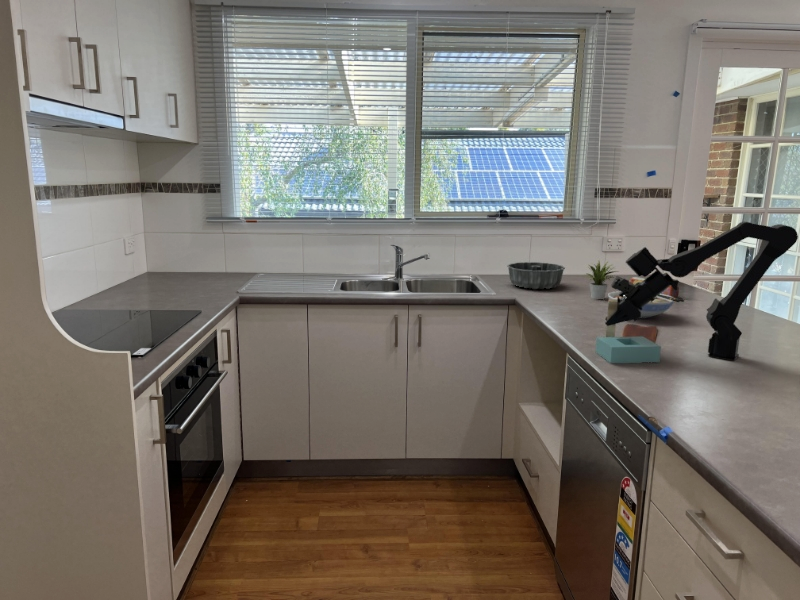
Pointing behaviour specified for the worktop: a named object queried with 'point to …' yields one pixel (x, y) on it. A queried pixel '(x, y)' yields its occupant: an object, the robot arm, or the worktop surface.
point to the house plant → (599, 281)
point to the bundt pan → (535, 274)
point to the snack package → (668, 291)
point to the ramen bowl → (652, 304)
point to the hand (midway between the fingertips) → (606, 322)
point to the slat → (611, 310)
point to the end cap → (628, 349)
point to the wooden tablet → (640, 331)
